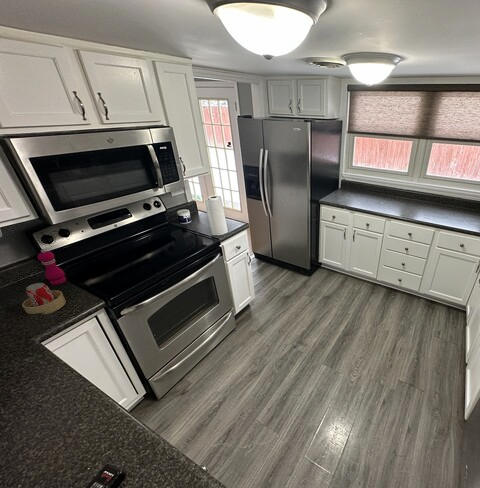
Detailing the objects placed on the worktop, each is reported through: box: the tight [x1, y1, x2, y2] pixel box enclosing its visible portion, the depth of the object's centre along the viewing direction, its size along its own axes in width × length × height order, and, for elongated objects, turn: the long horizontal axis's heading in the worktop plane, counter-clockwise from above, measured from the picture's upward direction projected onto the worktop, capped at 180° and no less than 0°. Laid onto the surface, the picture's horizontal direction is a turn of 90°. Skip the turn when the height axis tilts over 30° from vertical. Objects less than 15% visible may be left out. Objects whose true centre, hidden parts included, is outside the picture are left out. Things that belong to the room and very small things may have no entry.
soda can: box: [25, 282, 55, 307], centre depth 122 cm, size 7×7×12 cm
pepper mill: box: [37, 249, 67, 286], centre depth 139 cm, size 7×7×20 cm
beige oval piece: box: [21, 289, 67, 316], centre depth 123 cm, size 13×13×6 cm
